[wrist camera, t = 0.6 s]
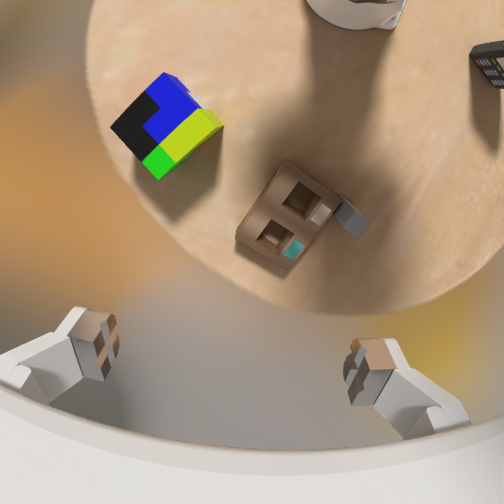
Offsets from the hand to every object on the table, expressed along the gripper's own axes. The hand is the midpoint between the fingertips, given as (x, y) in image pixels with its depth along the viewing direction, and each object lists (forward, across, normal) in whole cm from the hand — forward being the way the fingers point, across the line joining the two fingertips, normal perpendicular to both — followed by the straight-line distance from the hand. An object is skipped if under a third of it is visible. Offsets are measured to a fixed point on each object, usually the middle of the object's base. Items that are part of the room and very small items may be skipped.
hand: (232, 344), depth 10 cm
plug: (+40, -16, +5) cm, 44 cm away
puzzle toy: (+40, +12, -5) cm, 42 cm away
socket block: (+40, -6, +7) cm, 41 cm away
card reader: (+40, -41, -28) cm, 63 cm away
